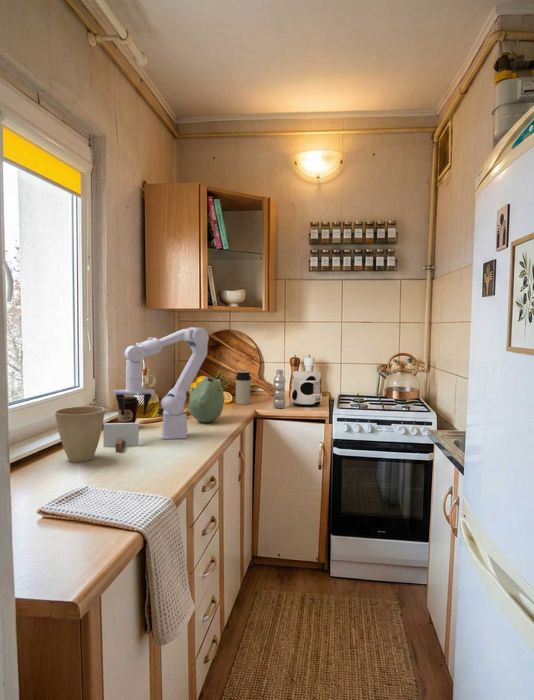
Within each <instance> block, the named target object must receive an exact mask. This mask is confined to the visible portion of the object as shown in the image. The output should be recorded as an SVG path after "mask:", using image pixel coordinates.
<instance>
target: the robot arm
mask: <svg viewBox="0 0 534 700" xmlns="http://www.w3.org/2000/svg"><path fill="white" fill-rule="evenodd" d="M209 340H210V337H209V335H208V332H207V330H206V329H205V328H203V327H194V326H190V327H187V328H183V329H180V330H178V331H175V332H173V333H171V334H168V335H167V336H163V337H161V338H157V337H152V336H151V337H150V336H149V337H148V338H147V340H145V341H142V342H136V343H135V345H129V346H127V348H125V351H124V353H123V356H124V359H126V360H125V362H126V363H125V389H114V390H112V391H113V393H112V396H114V397H115V399H116V401H117V404H118V403H119V405H120V408H121V412H122V415H124V397H125V396H143V414H142V415H143V416H146V413H147V409H148V408H147V407H148V405H149V403H150V400H151V398H152V396H154V395H155V389H146V388H145V389H144V388H143V362H142V361H143V360H144V358H145V359H146V358H148V357H151V356H153V355H155V354H158V353H160V352H162V349H163V348H164V347H166V346H169V345H173V344H175V343H177V342H180V341H184V342H186V343H188V345H189V346H190V349H191V351H192V353H191V356H190V357H189V359H188V361H187V363H186V364H185V366H184V368H183V370H182V372H181V374H180V375H179V377H178V379H177V381H176V383H175V384H174V387H173V388H171V389H170V390H169V391H168V392H167V394H166V395H164V397H162V399H161V401H160V406H161V409H162V410H163V412H162V433H161V437H160V438H161V440H170V439H171V440H172V439H173V440H174V439H187V438H188V435H187V434H188V433H189V431H188V418H187V417H188V416H187V415H188V414H187V413H182V412H183V411H184V409H185V403H186V401H187V393H188V391H189V389H190V387H191V385H192V383H193V381H194V380H195V377H197V374H198V371H199V370H200V368H201V366H202V364H203V363H204V361H205V359H206V357H207V355H208V346H209V345H208V344H209Z"/></svg>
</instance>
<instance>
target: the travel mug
mask: <svg viewBox="0 0 534 700" xmlns="http://www.w3.org/2000/svg"><path fill="white" fill-rule="evenodd" d="M250 373H251V371H250V370H246V369H245V370H243V369H242V370H240V369H239V370H236V376H235V404H237V405H239V404H242V405H243V406H245V404H247V405H249V404H251V379H252V378H251V375H250Z"/></svg>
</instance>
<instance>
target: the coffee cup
mask: <svg viewBox="0 0 534 700" xmlns="http://www.w3.org/2000/svg"><path fill="white" fill-rule="evenodd" d="M139 402H140V401H139V400H138V397H137V396H124V415H122V412H121V408H120V405H119V403H118V402H117V406H118V421H119V423H136V420H137V419H138V411H139V409H138V406H139V404H140V403H139Z"/></svg>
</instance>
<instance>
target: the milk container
mask: <svg viewBox="0 0 534 700" xmlns="http://www.w3.org/2000/svg"><path fill="white" fill-rule="evenodd" d="M321 385H322V373H321V372H320V371H316V370H315V371H314V370H295V371H293V372H292V385H291V391H290V402H291V403H292V404H294V405H296V406H301V407H316V406H319V405H320V404H321V403H322V400H323V394H322V388H321V387H322V386H321Z"/></svg>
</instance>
